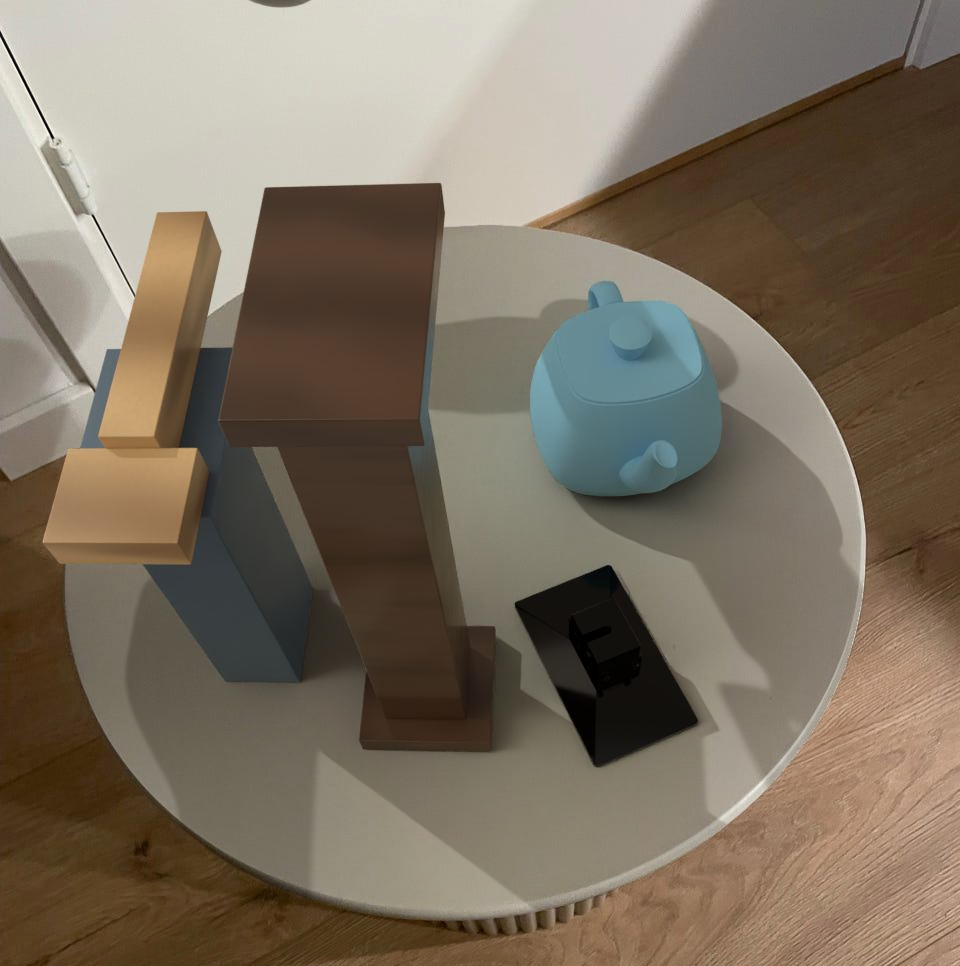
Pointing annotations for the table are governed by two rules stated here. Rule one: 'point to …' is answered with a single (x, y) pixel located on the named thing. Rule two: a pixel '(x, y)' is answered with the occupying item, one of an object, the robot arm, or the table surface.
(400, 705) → the dark wood pedestal
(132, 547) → the mallet
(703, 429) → the teapot
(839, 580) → the table surface
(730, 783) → the table surface
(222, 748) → the table surface
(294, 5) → the robot arm
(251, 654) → the blue-grey tall block
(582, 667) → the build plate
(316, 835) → the table surface
